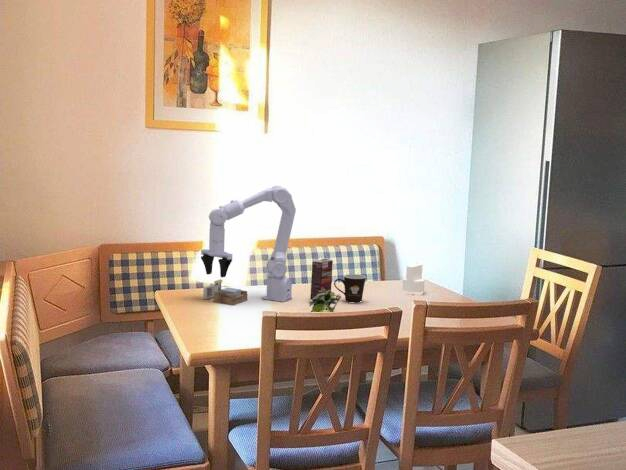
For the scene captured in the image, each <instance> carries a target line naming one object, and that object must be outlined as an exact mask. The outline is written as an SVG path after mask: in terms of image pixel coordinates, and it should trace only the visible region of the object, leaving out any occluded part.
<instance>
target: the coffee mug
mask: <svg viewBox="0 0 626 470" xmlns="http://www.w3.org/2000/svg"><path fill="white" fill-rule="evenodd" d="M338 281H341V282H342V283H343V284H342V285H344V291H343V290H341V289H340V288H338V286H337V285H336V283H337V282H338ZM365 283H366V276H365V275H362V274H354V273H353V274H352V273H349V274H344V275H343V279H341V278H336V279H335V280H334V282H333V285H334V287H335V289H336V290H337V291H339V292H340V293H342V294H343V296H344V299H345V300H346V301H348V302H347V303H349V302H360V301H362V300H363V295H364V291H365V290H364V288H365ZM346 301H345V302H346Z"/></svg>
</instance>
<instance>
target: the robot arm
mask: <svg viewBox="0 0 626 470" xmlns="http://www.w3.org/2000/svg"><path fill="white" fill-rule="evenodd" d="M262 202H268V203H273V202H274V203H275V204H276V205H277V206H278V208H279V209H280V210H281V216H280V221H279V226H278V230H277V234H276V237H275V238H276V239H275V243H274V247H273V250H272V252H271V256H270V258H269V259H268V260H267V263H266V269H267V270H268V273H267V274H266V295H263V297H261V298H262V299H263V300H270V301H276V302H283V303H284V302H287V301H288V300H291V299H293V297H292V291H293V287H292V286H293V282H292V279H291V278H289V277H287V276H286V274H287V251H288V248H289V247H288V246H289V241H290V239H291V234H292V229H293V225H294V220H295V216H296V212H297V211H296V210H297V209H296V206H295V203H294V200H293V196H292V194H291V193H290V192H289V190H288V189H287V188H285V187H282V186H280V185H274V186H272V187H269V188H266V189H263V190H261V191H259V192H257V193H255V194H254V195H251V196H249V197H247V198H246V199H244V200H242V201H241V200H238V199H236V200H234V199H231V200H230V202H229V203H227V204H224V205H219V206H218V208H215V209H212V210H211V211H210V212H209V215H208V219H209V222H210V223H209V236H208V237H209V238H208V239H209V240H208V242H209V247H208V249H206V248H205V249H204V248H203V249H201V251H200V255H201V257H200V259H201V261H202V263H203V265H204V269H205V274H206V275H211V274H213V273H212V272H213V263H214V259H215V258H218V263H219V271H220V272H219V273H220V278H226V275H227V274H228V271H229V270H228V269H229V267H230V265H231V263H232V262H233V253H229V252H226V251H225V232H226V231H225V230H226V229H225V223H226V222H227V221H229V220H233V219H234V218H236V217H238V216H240V215H243V213H244V211H245V209H248V208H250V207H253V206H255V205H258V204H260V203H262ZM219 258H220V259H219Z"/></svg>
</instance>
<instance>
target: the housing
mask: <svg viewBox="0 0 626 470" xmlns="http://www.w3.org/2000/svg"><path fill="white" fill-rule="evenodd" d="M248 297H249V296H248V291H247V290H242V289H241V295H238V296H236V295H234V294H227V293H221V292H214V297H213V301H212V302H213V303H216V304H224V305H228V306H237V305H238V304H241V303H244V302H246V301H248Z"/></svg>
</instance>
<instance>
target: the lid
mask: <svg viewBox="0 0 626 470" xmlns="http://www.w3.org/2000/svg"><path fill="white" fill-rule="evenodd" d="M241 290H242V289H241V288H234V287H224V288H223V289H222V288H221V293H227V294H234V295H236V296H238V295H241Z"/></svg>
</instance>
